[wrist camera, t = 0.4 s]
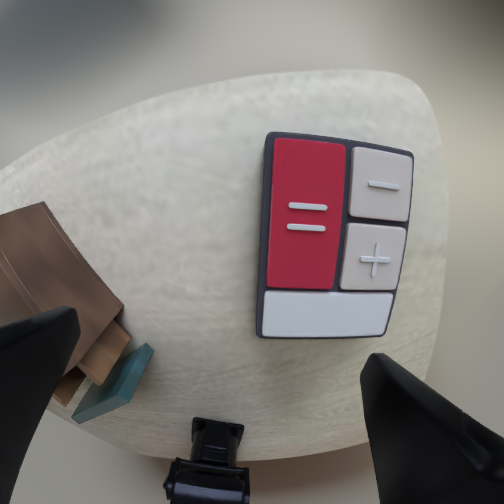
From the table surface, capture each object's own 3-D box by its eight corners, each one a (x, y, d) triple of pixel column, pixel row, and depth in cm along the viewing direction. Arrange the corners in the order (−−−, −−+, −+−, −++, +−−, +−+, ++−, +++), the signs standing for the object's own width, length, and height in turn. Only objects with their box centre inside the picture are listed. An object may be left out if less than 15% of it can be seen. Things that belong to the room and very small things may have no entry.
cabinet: (124, 305, 24) (78, 363, 15) (74, 351, 27) (37, 398, 18) (44, 201, 21) (-22, 222, 12) (8, 267, 23) (-39, 297, 15)
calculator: (420, 151, 16) (388, 342, 20) (393, 154, 20) (371, 317, 24) (266, 128, 16) (255, 344, 20) (264, 138, 20) (255, 317, 24)
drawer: (163, 358, 25) (140, 411, 18) (110, 389, 27) (87, 431, 20) (69, 255, 22) (20, 286, 15) (33, 307, 24) (-3, 339, 17)
